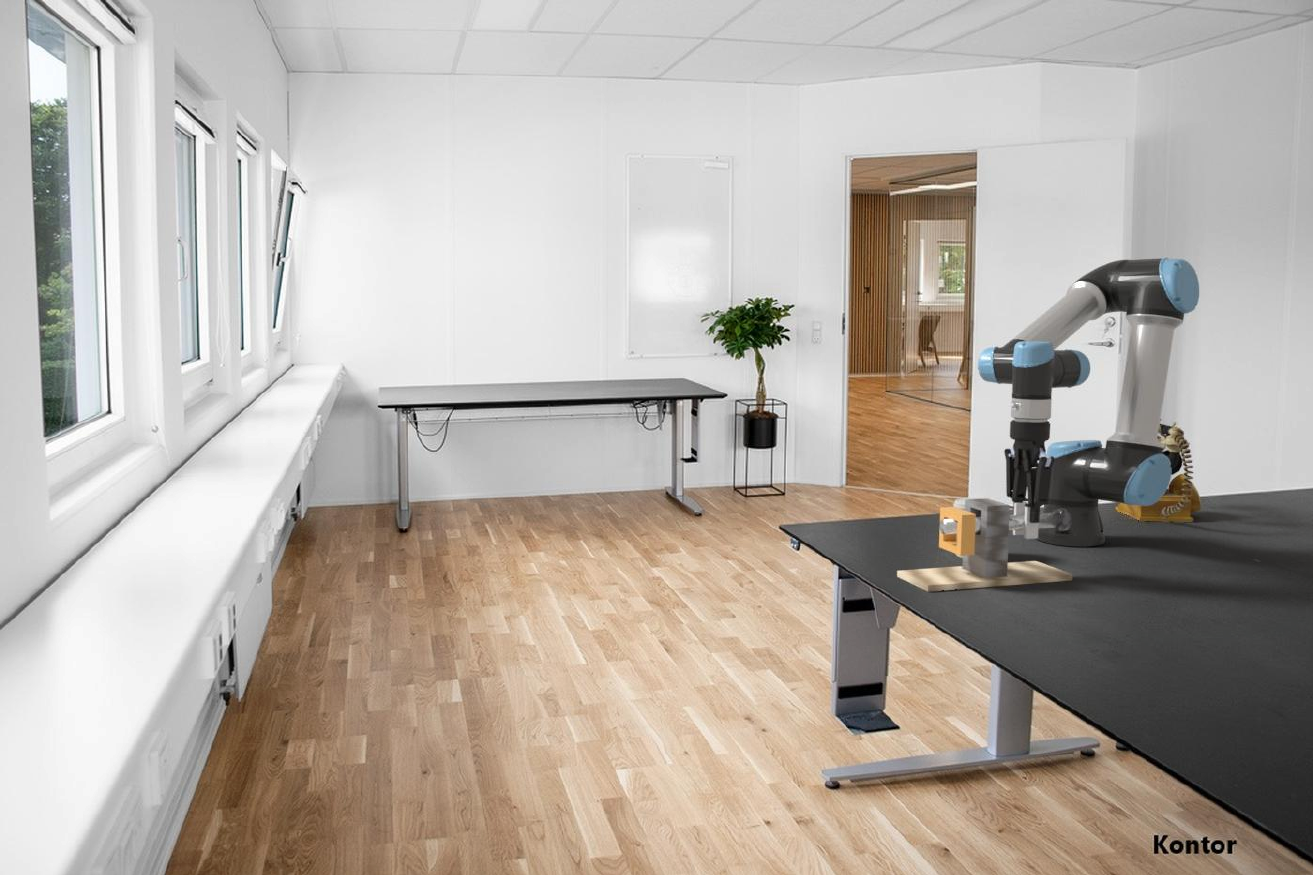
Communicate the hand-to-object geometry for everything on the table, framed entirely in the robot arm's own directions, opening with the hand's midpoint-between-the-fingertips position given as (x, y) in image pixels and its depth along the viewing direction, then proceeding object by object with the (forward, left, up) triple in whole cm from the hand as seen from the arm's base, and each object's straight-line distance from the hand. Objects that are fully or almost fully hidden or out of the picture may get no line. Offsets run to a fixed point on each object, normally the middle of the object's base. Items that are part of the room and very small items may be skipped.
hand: (1025, 536), depth 222 cm
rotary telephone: (-70, -40, -8) cm, 81 cm away
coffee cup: (0, -18, -8) cm, 20 cm away
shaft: (+5, 0, +1) cm, 5 cm away
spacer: (+15, 0, -2) cm, 16 cm away
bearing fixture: (+9, 0, -8) cm, 12 cm away
